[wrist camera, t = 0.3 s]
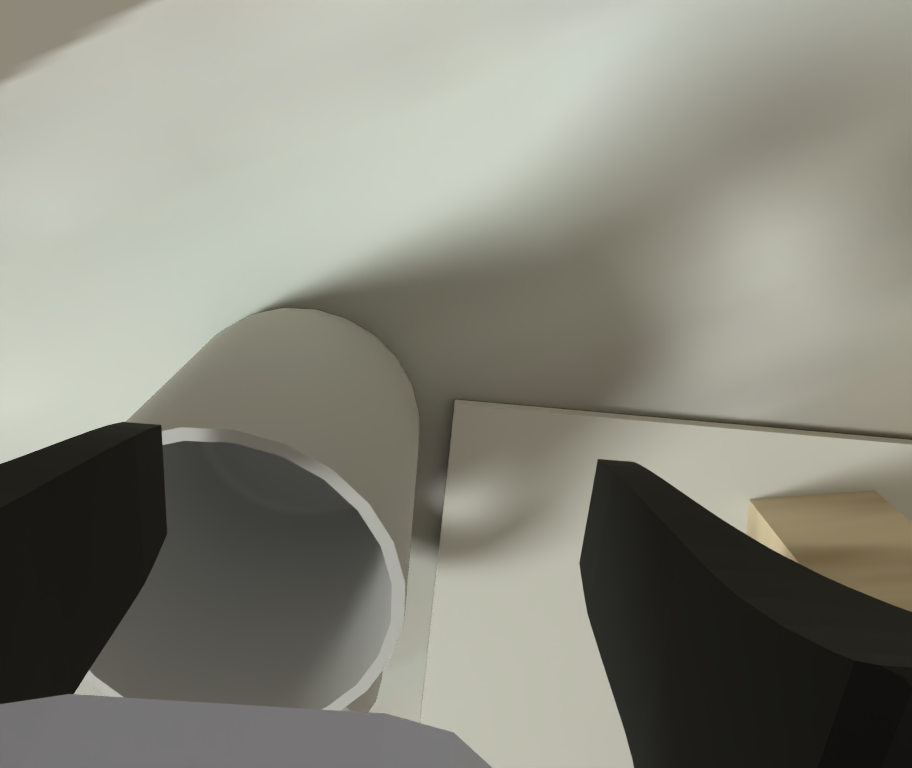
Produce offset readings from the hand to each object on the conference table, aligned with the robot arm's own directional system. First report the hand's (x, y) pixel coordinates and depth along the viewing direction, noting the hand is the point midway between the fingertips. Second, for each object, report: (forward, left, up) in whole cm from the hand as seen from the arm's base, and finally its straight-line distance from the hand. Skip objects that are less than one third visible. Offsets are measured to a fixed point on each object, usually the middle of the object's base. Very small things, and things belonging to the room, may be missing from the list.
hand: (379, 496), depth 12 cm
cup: (-4, +2, -10) cm, 11 cm away
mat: (-11, -10, -10) cm, 18 cm away
